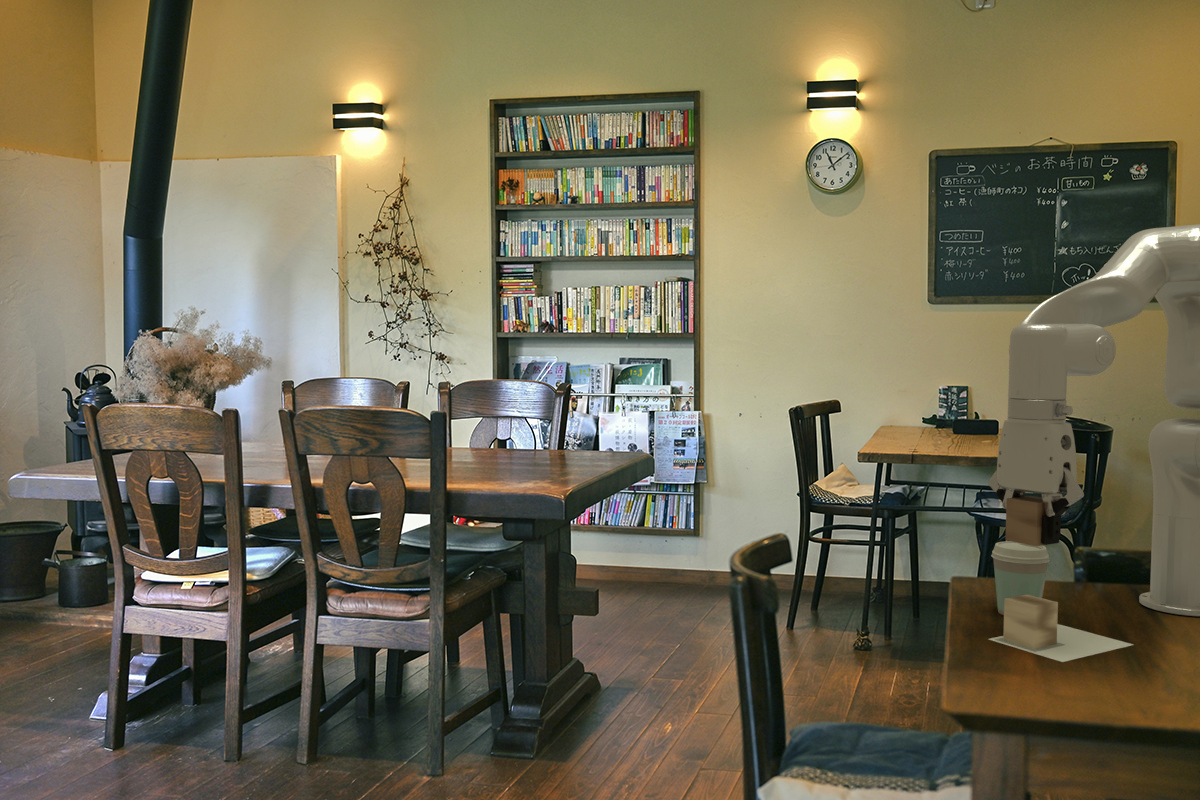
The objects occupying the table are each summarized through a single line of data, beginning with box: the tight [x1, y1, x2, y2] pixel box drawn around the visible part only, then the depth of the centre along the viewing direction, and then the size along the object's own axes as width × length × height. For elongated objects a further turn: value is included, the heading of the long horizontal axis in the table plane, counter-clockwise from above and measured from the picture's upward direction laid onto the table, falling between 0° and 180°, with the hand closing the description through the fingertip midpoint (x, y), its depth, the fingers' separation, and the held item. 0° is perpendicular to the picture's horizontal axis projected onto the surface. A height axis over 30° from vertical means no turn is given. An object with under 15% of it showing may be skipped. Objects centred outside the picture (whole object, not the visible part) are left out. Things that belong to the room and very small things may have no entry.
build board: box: [988, 623, 1134, 663], centre depth 143 cm, size 16×12×1 cm
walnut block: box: [1005, 495, 1054, 546], centre depth 142 cm, size 5×5×6 cm
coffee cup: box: [990, 540, 1051, 616], centre depth 158 cm, size 8×9×12 cm
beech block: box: [1002, 595, 1059, 649], centre depth 143 cm, size 5×5×6 cm
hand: (1032, 538), depth 142 cm, fingers closed on walnut block, 5 cm apart
